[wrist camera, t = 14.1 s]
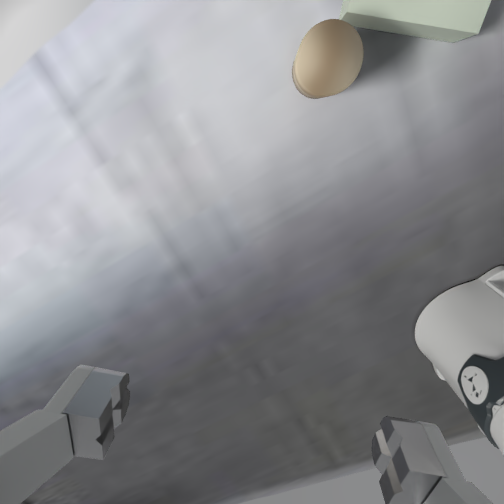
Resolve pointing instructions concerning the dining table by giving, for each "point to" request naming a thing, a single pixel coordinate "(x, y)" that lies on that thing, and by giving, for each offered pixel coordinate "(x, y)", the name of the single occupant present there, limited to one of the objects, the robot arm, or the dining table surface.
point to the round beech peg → (327, 59)
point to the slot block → (418, 17)
